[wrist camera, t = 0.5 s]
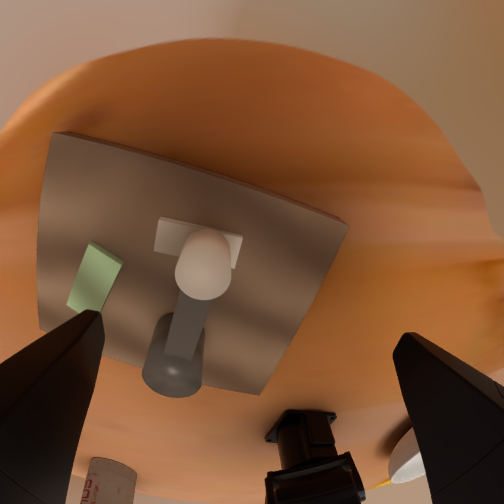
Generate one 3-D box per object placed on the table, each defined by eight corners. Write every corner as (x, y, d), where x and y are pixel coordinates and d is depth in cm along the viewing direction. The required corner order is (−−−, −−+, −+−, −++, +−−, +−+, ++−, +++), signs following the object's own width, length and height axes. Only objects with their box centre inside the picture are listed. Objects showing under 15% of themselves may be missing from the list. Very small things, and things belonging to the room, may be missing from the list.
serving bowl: (375, 466, 38) (385, 494, 32) (380, 417, 30) (398, 457, 24) (465, 419, 38) (479, 442, 31) (493, 353, 30) (517, 380, 23)
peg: (198, 357, 20) (194, 402, 16) (151, 344, 20) (139, 388, 16) (244, 231, 17) (249, 263, 13) (185, 212, 16) (171, 239, 12)
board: (257, 379, 25) (260, 400, 22) (49, 316, 21) (36, 333, 18) (338, 217, 20) (353, 228, 17) (67, 131, 16) (47, 132, 13)
